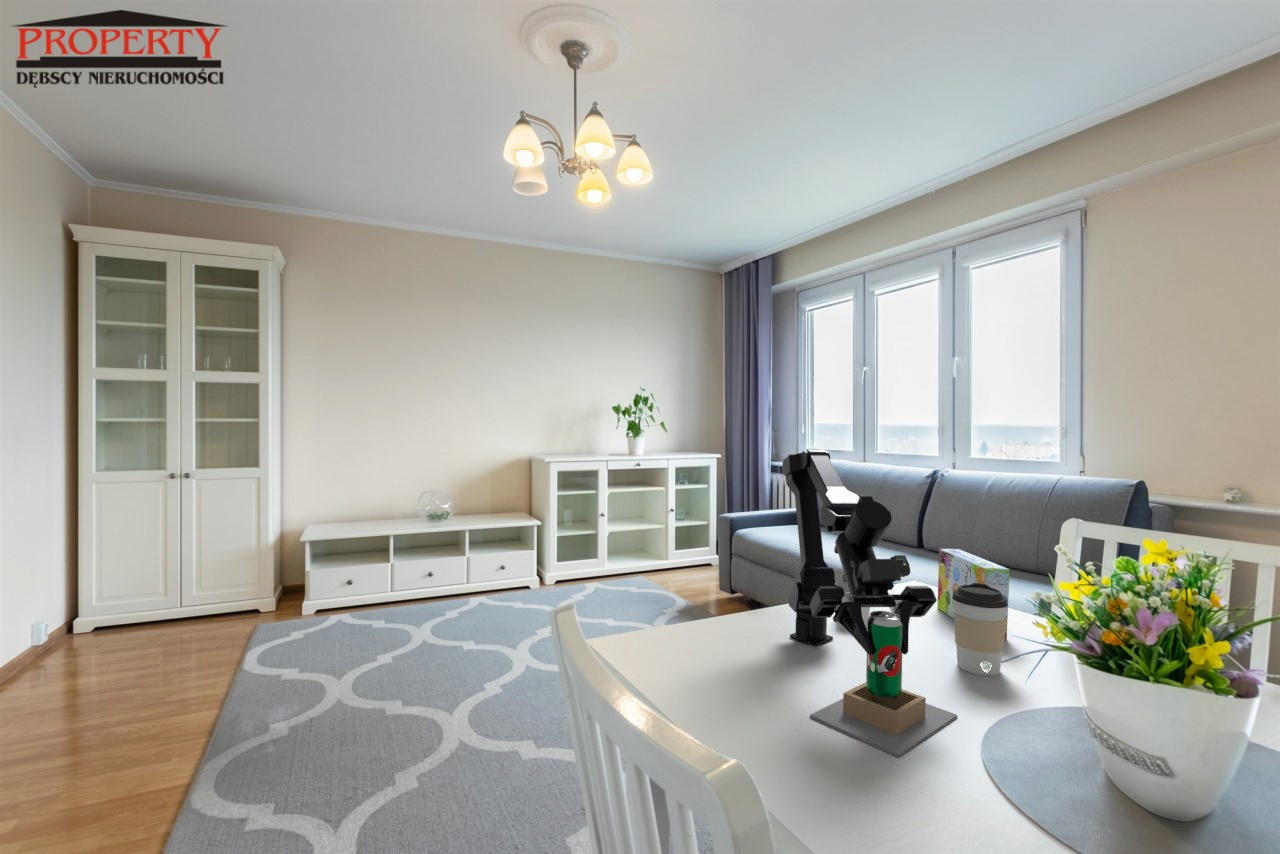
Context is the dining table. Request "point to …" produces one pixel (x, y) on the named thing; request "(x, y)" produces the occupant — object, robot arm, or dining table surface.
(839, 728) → the can holder
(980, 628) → the coffee cup
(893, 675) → the soda can
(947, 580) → the snack box
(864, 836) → the dining table surface
